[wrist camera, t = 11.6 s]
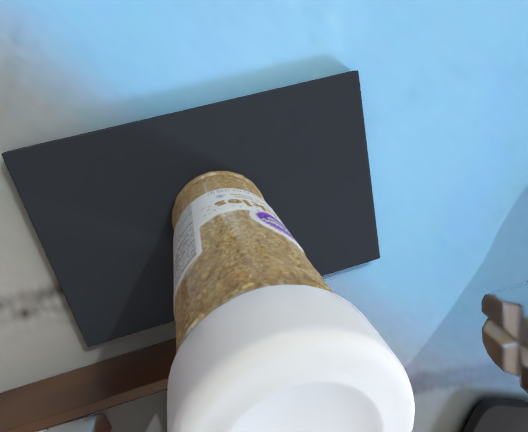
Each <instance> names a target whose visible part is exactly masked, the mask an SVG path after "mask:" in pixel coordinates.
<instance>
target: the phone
mask: <svg viewBox="0 0 528 432" xmlns="http://www.w3.org/2000/svg"><path fill="white" fill-rule="evenodd" d="M463 432H528V402H524V401H516V400H507V399H498V398H490V399H486V400H484V401H482V402H481V403H479V404H478V405H477V407H476V408H475V409H474V411H473V413H472V415H471V417H470V419H469V421H468V422H467V424H466V426H465V428H464V430H463Z"/></svg>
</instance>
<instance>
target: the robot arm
mask: <svg viewBox="0 0 528 432" xmlns="http://www.w3.org/2000/svg"><path fill="white" fill-rule="evenodd" d="M482 312H483V313H484V314H485V315H486V316H487V317H488V319H487V321H486V322H485V324H484V326H483V327H482V339H483V343H484V346H485V348H486V350H487V353H488V354H489V356H490V357H491V359H492V360H493V361H494V363H495V364H496V365H498V366H499V367H500V368H501V369H502V370H503V371H504V372H507V373H510V374H513V375H516V376H518V377H519V381H520V386H521V388H523V389H524V390H525V391H526V392H527V393H528V281H527V282H524V283H521V284H518V285H515V286H511V287H508V288H505V289H502V290H499V291H496V292H492V293H489V294H486V295H485V296H484V298H483V300H482ZM111 428H112V427H111V425H110V423H109V421H108V419H107V417H106V415H104V414H100V413H99V414H96V415H92V416H89V417H85V418H82V419H78V420H74V421H71V422H67V423H64V424H60V425H57V426H53V427H50V428H48V429H45V430H41V431H37V432H111Z"/></svg>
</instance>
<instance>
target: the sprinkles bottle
mask: <svg viewBox="0 0 528 432" xmlns="http://www.w3.org/2000/svg"><path fill="white" fill-rule="evenodd" d="M172 224H173V228H174V237H173V262H174V316H175V321H176V356H175V358H174V361H173V363H172V366H171V370H170V374H169V378H168V387H167V432H412V429H413V424H414V415H415V402H414V396H413V391H412V387H411V384H410V381H409V379H408V376H407V373H406V371H405V369H404V368H403V366H402V364H401V363H400V361H399V360H398V358H397V357H396V356H395V354H394V353H393V352H392V350H391V349H390V348H389V346H388V345H387V344H386V343H385V341H384V340H383V339H382V337H381V336H380V335H379V333H378V332H377V331H376V330H375V328H374V327H373V326H372V325H371V324H370V322H369V321H368V320H367V319H366V318H365V317H364V315H363V314H362V313H361V312H360V311H359V310H358V309H357V308H356V307H355V306H354V305H353V304H351V303H350V302H348V301H347V300H345V299H344V298H342V297H340V296H338V295H336V294H334V293H333V292H332V290H331V289H330V288H329V286H328V285H327V284H326V283H325V281H324V280H323V278H322V277H321V275H320V274H319V273H318V272H317V271H316V269H315V268H314V267H313V266H312V264H311V263H310V262H309V260H308V259H307V258H306V256H305V253H304V251H303V249H302V248H301V247H300V245H299V244H298V243H297V241H296V240H295V239H294V238H293V236H292V235H291V234H290V232H289V231H288V230H287V228H286V227H285V226H284V224H283V223H282V222H281V220H280V219H279V218H278V216H277V215H276V214H275V212H274V211H273V210H272V208H271V207H270V206H269V205H268V204H267V203H266V202H265V200H264V198H263V196H262V194H261V192H260V191H259V190H258V188H257V187H256V186H255V185H254V183H253V182H251V181H250V180H248V179H247V178H245V177H244V176H243V175H240V174H237V173H234V172H230V171H213V172H208V173H205V174H202V175H200V176H198V177H196V178H194V179H193V180H192V181H190V182H189V183H188V184H187V185H186V186H185V187H184V188H183V189H182V190H181V192H180V193H179V194H178V196H177V197H176V200H175V204H174V207H173V211H172Z"/></svg>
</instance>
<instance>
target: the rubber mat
mask: <svg viewBox="0 0 528 432" xmlns="http://www.w3.org/2000/svg"><path fill="white" fill-rule="evenodd" d="M2 156H3V159H4V161H5V163H6V165H7V168H8V170H9V172H10V174H11V177H12V179H13V181H14V183H15V185H16V188H17V190H18V192H19V194H20V197H21V199H22V201H23V203H24V206H25V208H26V210H27V212H28V214H29V217H30V219H31V221H32V223H33V226H34V228H35V230H36V232H37V234H38V237H39V239H40V241H41V243H42V246H43V248H44V250H45V252H46V255H47V257H48V259H49V261H50V263H51V266H52V268H53V270H54V272H55V275H56V277H57V279H58V281H59V283H60V286H61V288H62V290H63V292H64V295H65V297H66V299H67V301H68V304H69V306H70V308H71V310H72V312H73V315H74V317H75V319H76V321H77V324H78V326H79V328H80V330H81V333H82V335H83V337H84V339H85V341H86V344H87V346H88V347H89V346H93V345H96V344H99V343H102V342H106V341H109V340H112V339H116V338H119V337H122V336H125V335H129V334H132V333H135V332H139V331H142V330H145V329H148V328H152V327H155V326H158V325H162V324H165V323H168V322H171V321H175V316H174V262H173V237H174V228H173V224H172V211H173V207H174V204H175V200H176V197H177V196H178V194H179V193H180V192H181V190H182V189H183V188H184V187H185V186H186V185H187V184H188V183H189V182H190V181H192V180H193V179H194V178H196V177H198V176H200V175H202V174H205V173H208V172H213V171H230V172H234V173H237V174H240V175H243V176H244V177H245V178H247V179H248V180H250V181H251V182H253V183H254V185H255V186H256V187H257V188H258V190H259V191H260V192H261V194H262V196H263V198H264V200H265V202H266V203H267V204H268V205H269V206H270V207H271V208H272V210H273V211H274V212H275V214H276V215H277V216H278V218H279V219H280V220H281V222H282V223H283V224H284V226H285V227H286V228H287V230H288V231H289V232H290V234H291V235H292V236H293V238H294V239H295V240H296V241H297V243H298V244H299V245H300V247H301V248H302V249H303V251H304V253H305V256H306V258H307V259H308V260H309V262H310V263H311V264H312V266H313V267H314V268H315V269H316V271H317V272H318V273H319V274H320V275H321V276H323V275H326V274H329V273H332V272H336V271H339V270H342V269H346V268H349V267H352V266H355V265H359V264H362V263H365V262H369V261H372V260H375V259H378V258H380V254H379V245H378V237H377V228H376V220H375V211H374V203H373V194H372V185H371V177H370V168H369V160H368V151H367V142H366V134H365V125H364V117H363V108H362V100H361V91H360V82H359V74H358V71H350V72H346V73H342V74H338V75H333V76H329V77H325V78H320V79H316V80H312V81H307V82H303V83H299V84H295V85H290V86H286V87H282V88H277V89H273V90H269V91H265V92H260V93H256V94H252V95H247V96H243V97H239V98H234V99H230V100H226V101H222V102H217V103H213V104H209V105H204V106H200V107H196V108H191V109H187V110H183V111H179V112H174V113H170V114H166V115H161V116H157V117H153V118H149V119H144V120H140V121H136V122H131V123H127V124H123V125H118V126H114V127H110V128H106V129H101V130H97V131H93V132H88V133H84V134H80V135H76V136H71V137H67V138H63V139H58V140H54V141H50V142H45V143H41V144H37V145H33V146H28V147H24V148H20V149H15V150H11V151H7V152H4V153H2Z"/></svg>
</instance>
